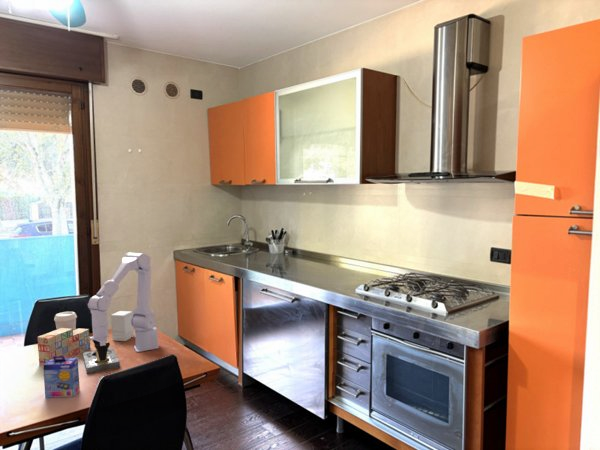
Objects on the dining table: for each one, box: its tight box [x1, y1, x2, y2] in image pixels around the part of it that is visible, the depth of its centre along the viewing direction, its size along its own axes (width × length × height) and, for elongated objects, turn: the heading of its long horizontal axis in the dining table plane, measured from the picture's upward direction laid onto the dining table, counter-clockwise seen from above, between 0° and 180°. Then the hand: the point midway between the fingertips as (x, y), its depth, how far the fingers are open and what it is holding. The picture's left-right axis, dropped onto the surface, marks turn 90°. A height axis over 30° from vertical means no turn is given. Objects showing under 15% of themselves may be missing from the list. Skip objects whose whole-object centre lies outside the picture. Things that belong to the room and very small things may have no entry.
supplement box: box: [110, 310, 135, 342], centre depth 213 cm, size 7×7×13 cm
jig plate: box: [82, 347, 121, 375], centre depth 183 cm, size 12×19×2 cm, turn 30°
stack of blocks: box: [37, 328, 91, 366], centre depth 191 cm, size 21×6×12 cm, turn 161°
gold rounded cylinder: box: [95, 349, 108, 364], centre depth 179 cm, size 4×4×7 cm
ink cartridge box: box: [42, 356, 81, 399], centre depth 155 cm, size 10×6×14 cm, turn 95°
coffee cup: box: [53, 311, 78, 330], centre depth 205 cm, size 10×10×15 cm
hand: (101, 357), depth 179 cm, fingers open, 6 cm apart
